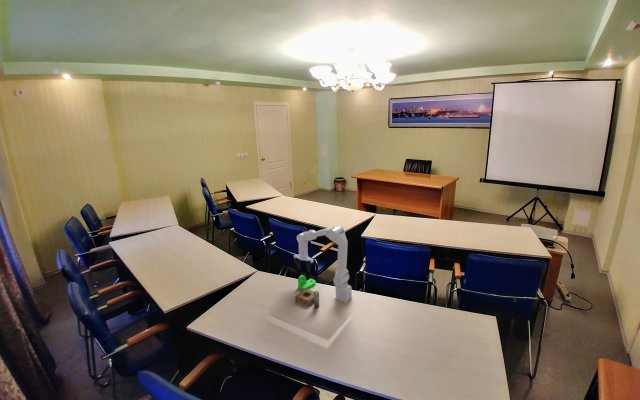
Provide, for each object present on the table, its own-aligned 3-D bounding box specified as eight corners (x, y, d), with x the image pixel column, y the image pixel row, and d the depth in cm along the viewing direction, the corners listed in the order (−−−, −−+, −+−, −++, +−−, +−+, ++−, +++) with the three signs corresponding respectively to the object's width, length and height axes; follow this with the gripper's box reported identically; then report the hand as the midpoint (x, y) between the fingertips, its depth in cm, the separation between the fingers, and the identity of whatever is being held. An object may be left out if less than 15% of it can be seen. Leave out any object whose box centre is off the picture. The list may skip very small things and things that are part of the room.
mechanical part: (304, 291, 182) (304, 279, 180) (298, 288, 186) (297, 276, 184) (317, 284, 190) (317, 273, 189) (311, 281, 194) (310, 270, 193)
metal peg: (320, 306, 165) (319, 292, 163) (317, 308, 162) (317, 294, 160) (315, 304, 166) (315, 290, 164) (312, 307, 164) (312, 293, 162)
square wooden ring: (318, 298, 173) (318, 293, 172) (308, 306, 165) (308, 300, 164) (305, 293, 178) (304, 288, 177) (295, 301, 170) (295, 296, 169)
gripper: (316, 250, 183) (316, 270, 186) (298, 246, 191) (298, 265, 194) (309, 254, 178) (310, 274, 181) (291, 250, 185) (292, 269, 188)
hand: (303, 270), depth 187 cm, fingers open, 7 cm apart
